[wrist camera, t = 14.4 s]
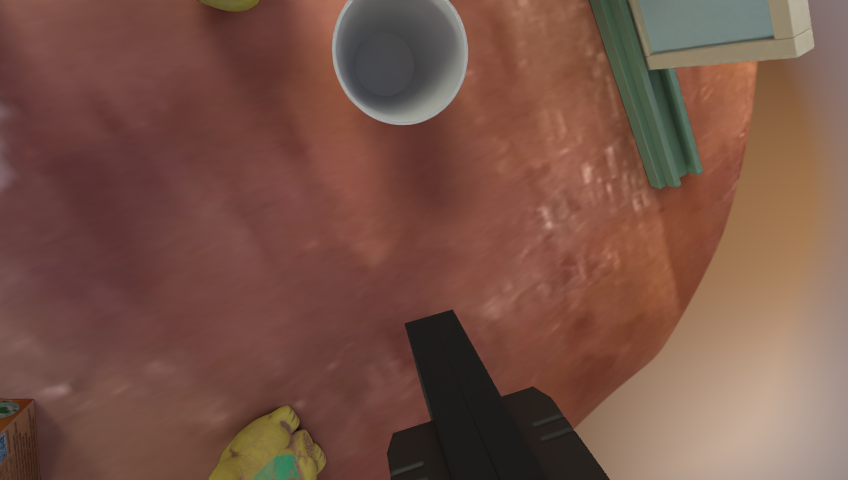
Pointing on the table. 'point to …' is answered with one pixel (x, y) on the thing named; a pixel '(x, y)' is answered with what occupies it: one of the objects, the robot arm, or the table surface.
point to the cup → (400, 57)
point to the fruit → (231, 4)
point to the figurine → (271, 451)
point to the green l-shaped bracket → (648, 100)
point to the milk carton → (18, 440)
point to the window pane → (719, 31)
